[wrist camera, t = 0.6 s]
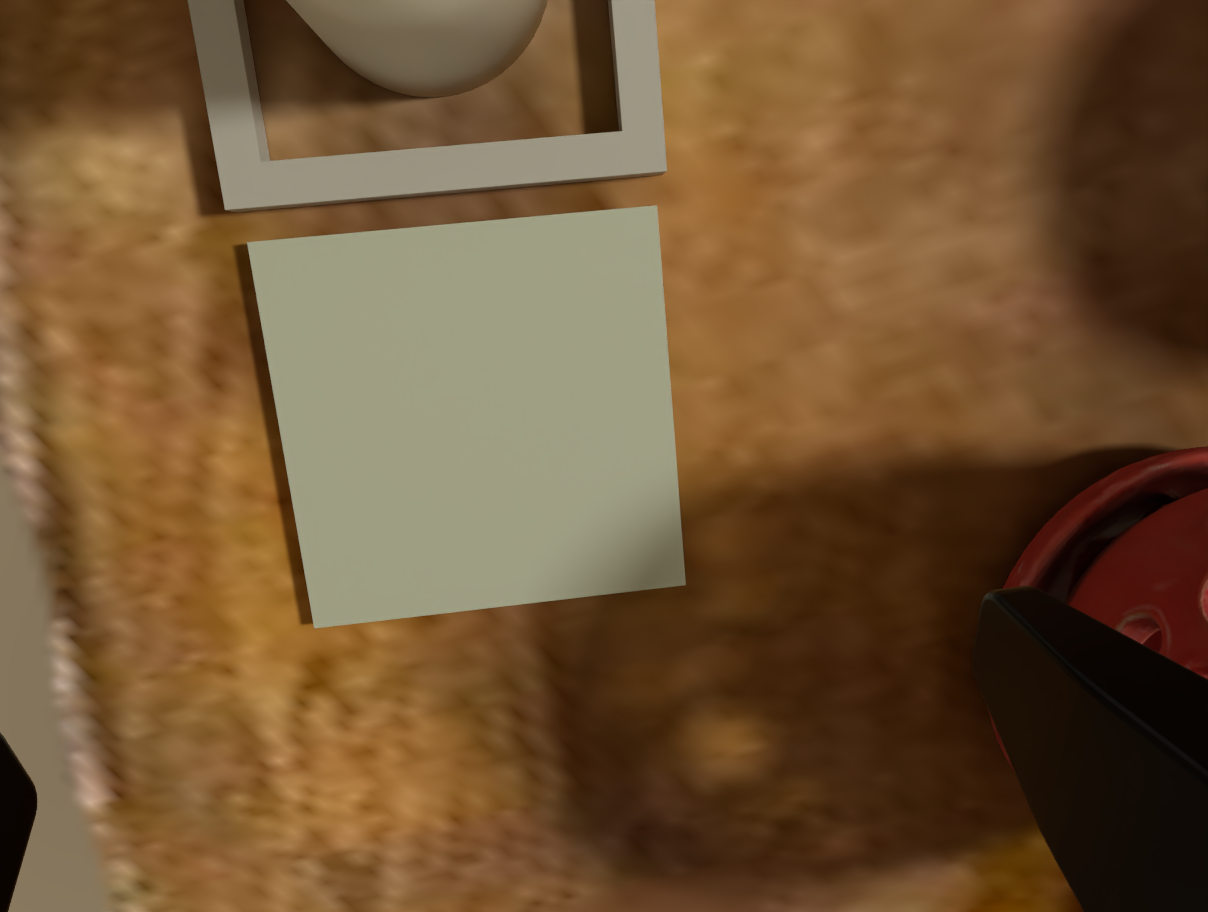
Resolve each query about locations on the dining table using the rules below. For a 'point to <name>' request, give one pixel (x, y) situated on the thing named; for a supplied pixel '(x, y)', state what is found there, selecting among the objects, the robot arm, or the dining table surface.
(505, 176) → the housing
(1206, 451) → the plant pot
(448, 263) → the mat
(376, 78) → the cartridge
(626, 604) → the dining table surface
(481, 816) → the dining table surface
